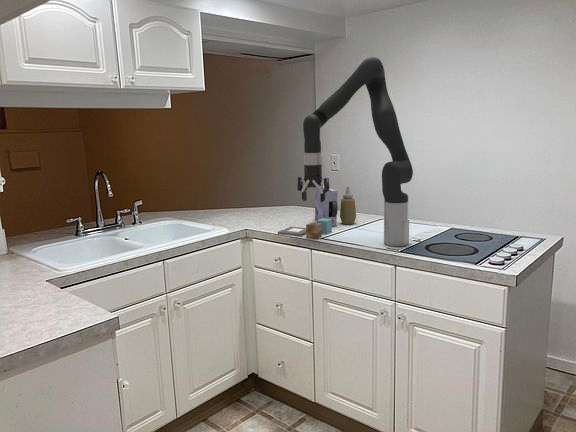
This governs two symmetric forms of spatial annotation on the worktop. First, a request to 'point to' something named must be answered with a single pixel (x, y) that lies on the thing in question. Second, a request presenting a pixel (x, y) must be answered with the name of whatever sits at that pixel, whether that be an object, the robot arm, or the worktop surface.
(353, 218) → the squeeze bottle
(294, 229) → the base board
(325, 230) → the teal block
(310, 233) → the walnut block
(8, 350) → the worktop surface
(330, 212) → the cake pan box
